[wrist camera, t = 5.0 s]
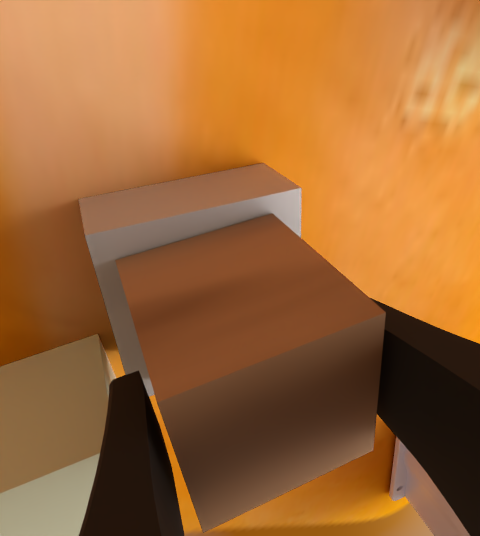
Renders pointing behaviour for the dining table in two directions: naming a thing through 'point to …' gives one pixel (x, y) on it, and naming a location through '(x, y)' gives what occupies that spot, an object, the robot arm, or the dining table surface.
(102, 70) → the dining table surface
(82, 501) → the sage block
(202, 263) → the walnut block
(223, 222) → the stone slab
